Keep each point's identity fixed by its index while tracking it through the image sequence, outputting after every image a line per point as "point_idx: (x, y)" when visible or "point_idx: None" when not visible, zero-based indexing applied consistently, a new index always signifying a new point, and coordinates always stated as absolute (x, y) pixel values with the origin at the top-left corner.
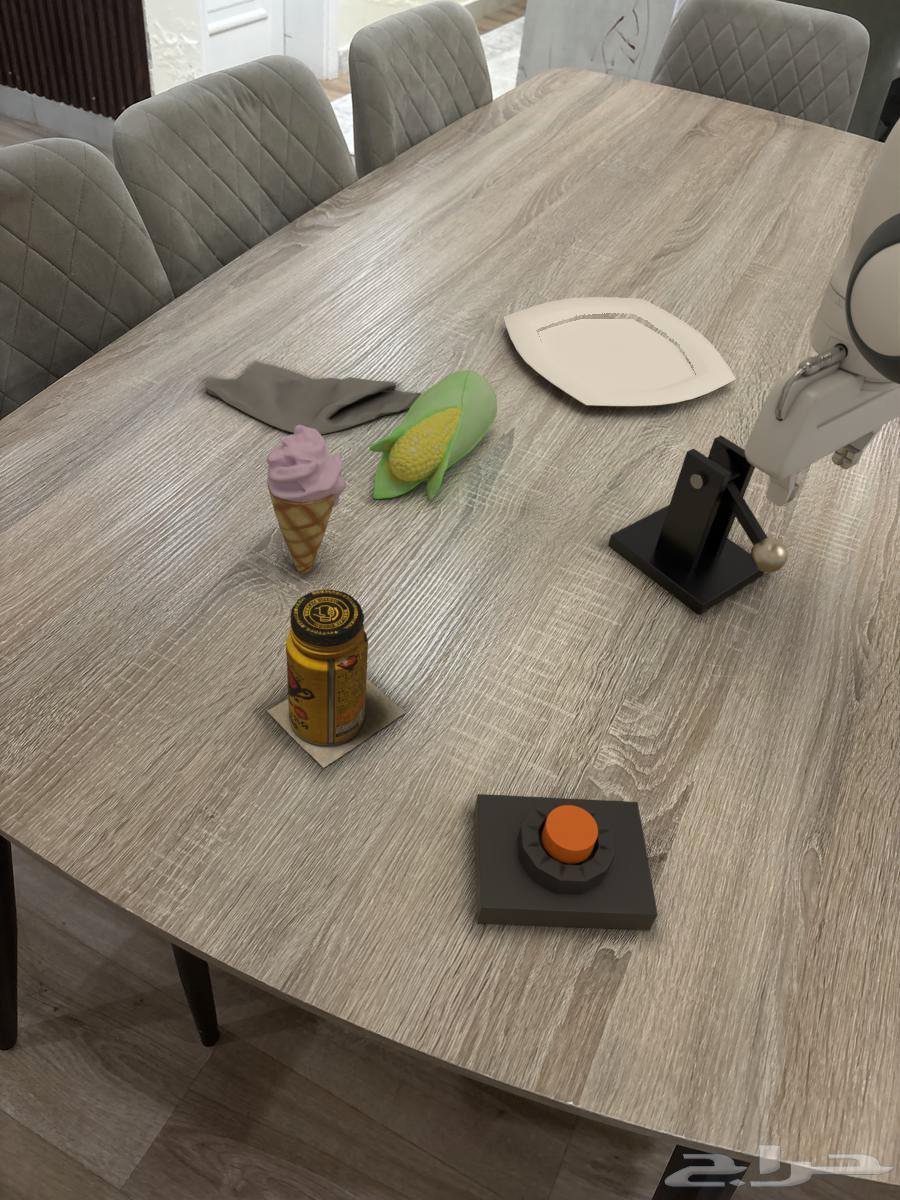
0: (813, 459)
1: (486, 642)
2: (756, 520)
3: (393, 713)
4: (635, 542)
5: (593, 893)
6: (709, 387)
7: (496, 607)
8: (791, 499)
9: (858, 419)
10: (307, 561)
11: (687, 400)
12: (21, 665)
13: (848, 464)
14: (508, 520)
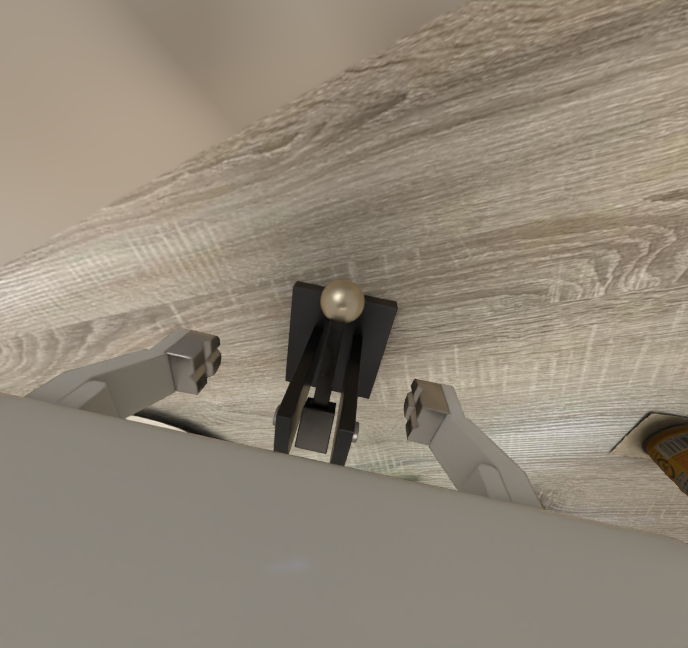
0: (551, 539)
1: (538, 404)
2: (327, 345)
3: (655, 417)
4: (362, 382)
5: None
6: (132, 419)
7: (495, 414)
8: (427, 384)
9: (268, 636)
10: (544, 508)
11: (164, 423)
12: (685, 541)
13: (210, 343)
14: (397, 444)
